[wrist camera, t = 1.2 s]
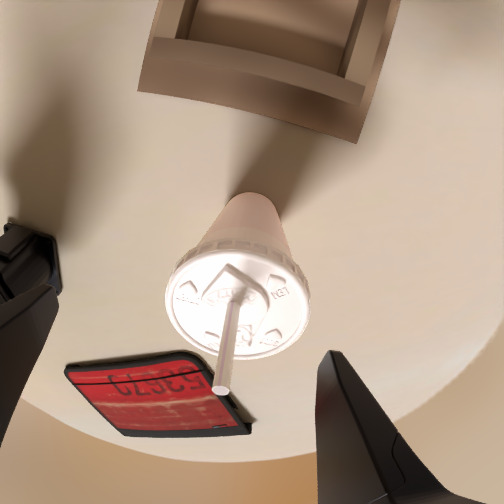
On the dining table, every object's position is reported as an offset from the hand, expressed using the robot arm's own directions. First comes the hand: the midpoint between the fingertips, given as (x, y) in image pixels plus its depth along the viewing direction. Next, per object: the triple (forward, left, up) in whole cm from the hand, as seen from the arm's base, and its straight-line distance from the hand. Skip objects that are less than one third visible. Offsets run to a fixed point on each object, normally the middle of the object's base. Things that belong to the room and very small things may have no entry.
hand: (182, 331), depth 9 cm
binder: (-29, +4, -14) cm, 32 cm away
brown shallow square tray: (+13, 0, -13) cm, 19 cm away
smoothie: (-2, -2, -13) cm, 14 cm away
